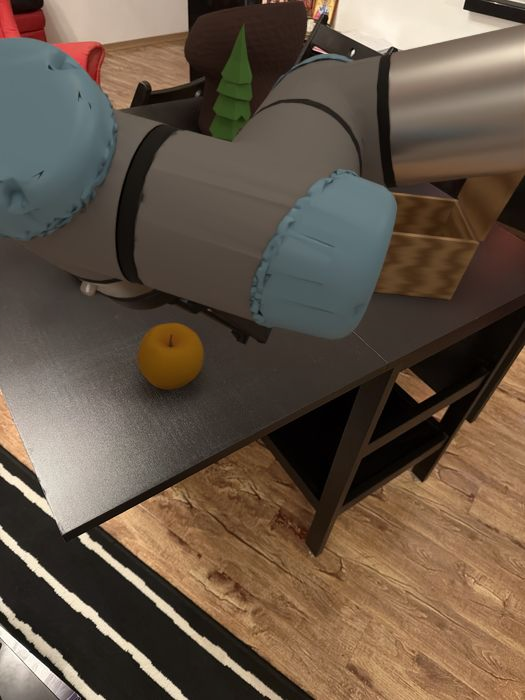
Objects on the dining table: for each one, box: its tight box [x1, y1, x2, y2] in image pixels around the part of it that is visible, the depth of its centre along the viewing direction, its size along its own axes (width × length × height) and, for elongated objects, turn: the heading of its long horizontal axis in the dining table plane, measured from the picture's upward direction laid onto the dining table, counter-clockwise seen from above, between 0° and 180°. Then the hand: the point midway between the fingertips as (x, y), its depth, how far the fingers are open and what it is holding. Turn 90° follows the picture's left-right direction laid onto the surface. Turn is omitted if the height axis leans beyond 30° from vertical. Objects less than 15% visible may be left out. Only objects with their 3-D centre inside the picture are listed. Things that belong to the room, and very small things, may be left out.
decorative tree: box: [209, 24, 252, 142], centre depth 92 cm, size 10×9×30 cm
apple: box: [136, 322, 205, 391], centre depth 62 cm, size 8×8×9 cm
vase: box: [183, 0, 309, 137], centre depth 113 cm, size 27×27×30 cm
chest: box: [373, 191, 480, 301], centre depth 84 cm, size 16×14×12 cm
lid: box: [457, 172, 525, 242], centre depth 74 cm, size 16×14×1 cm
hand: (190, 308), depth 54 cm, fingers open, 13 cm apart
